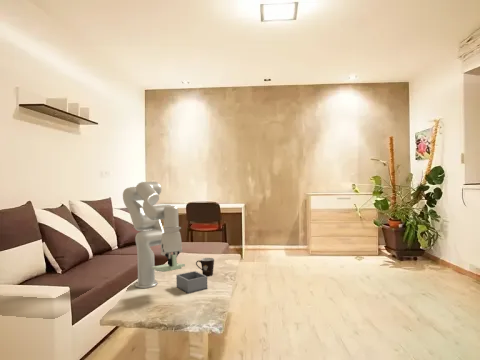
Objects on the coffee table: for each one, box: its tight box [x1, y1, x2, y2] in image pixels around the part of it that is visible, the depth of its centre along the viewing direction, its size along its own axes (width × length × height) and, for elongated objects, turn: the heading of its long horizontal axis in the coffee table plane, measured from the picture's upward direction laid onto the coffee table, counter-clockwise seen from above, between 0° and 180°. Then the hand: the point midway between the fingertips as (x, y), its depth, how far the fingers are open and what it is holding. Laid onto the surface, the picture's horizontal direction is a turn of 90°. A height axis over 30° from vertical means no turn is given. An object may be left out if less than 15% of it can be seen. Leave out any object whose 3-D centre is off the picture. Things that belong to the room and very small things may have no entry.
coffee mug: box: [195, 257, 215, 277], centre depth 211 cm, size 12×9×10 cm
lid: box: [151, 254, 186, 273], centre depth 174 cm, size 17×13×8 cm
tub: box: [175, 270, 208, 295], centre depth 185 cm, size 14×12×7 cm
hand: (172, 265), depth 170 cm, fingers closed on lid, 1 cm apart
